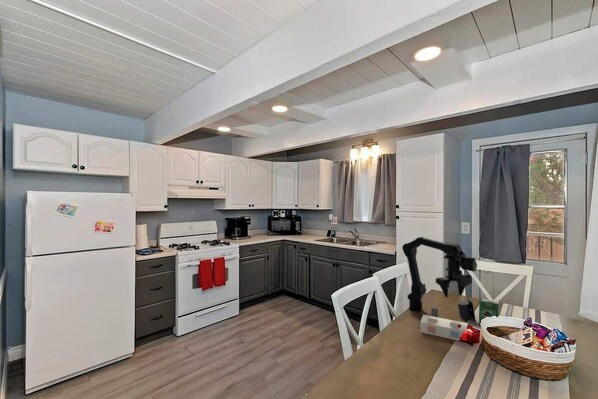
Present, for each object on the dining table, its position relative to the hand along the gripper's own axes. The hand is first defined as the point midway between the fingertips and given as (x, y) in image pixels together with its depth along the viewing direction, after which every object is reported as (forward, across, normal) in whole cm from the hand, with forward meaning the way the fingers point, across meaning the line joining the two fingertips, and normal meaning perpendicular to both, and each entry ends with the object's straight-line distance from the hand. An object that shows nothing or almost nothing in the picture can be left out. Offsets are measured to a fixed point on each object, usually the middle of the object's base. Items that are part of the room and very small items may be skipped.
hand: (453, 296), depth 151 cm
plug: (+13, -11, +1) cm, 17 cm away
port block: (+13, -15, -10) cm, 22 cm away
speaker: (+13, +9, 0) cm, 16 cm away
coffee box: (+13, +11, -11) cm, 21 cm away
